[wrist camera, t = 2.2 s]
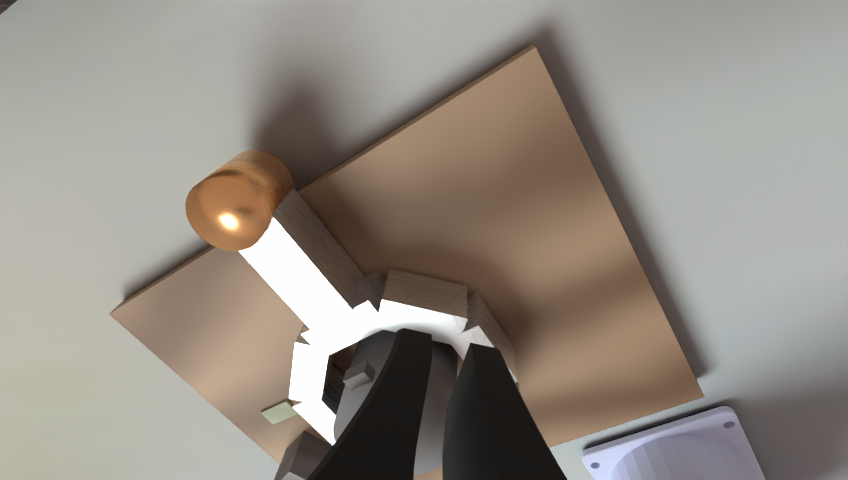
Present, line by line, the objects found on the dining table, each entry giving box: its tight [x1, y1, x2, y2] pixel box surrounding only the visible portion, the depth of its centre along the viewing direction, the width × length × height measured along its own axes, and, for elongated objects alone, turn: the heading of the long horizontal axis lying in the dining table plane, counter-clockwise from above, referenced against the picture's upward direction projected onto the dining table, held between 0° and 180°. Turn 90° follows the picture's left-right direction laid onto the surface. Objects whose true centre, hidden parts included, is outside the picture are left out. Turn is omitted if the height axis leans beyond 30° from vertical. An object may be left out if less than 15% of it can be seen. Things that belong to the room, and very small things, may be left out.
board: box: [110, 44, 704, 480], centre depth 20 cm, size 18×22×6 cm
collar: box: [186, 150, 520, 446], centre depth 19 cm, size 16×9×3 cm, turn 32°
